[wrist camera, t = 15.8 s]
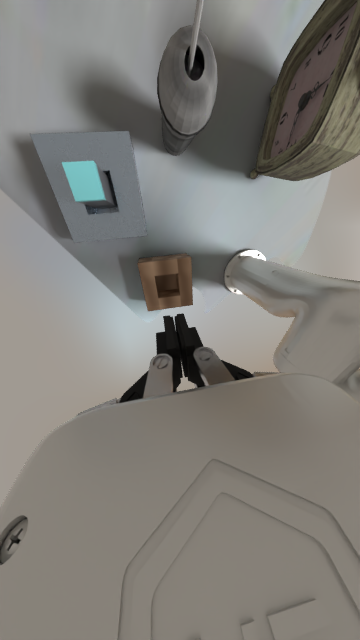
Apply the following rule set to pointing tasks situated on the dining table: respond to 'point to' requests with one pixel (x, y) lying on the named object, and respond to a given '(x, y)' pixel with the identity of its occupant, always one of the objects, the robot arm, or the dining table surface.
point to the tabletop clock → (316, 99)
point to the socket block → (115, 162)
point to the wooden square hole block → (166, 281)
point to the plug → (90, 184)
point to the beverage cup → (186, 85)
